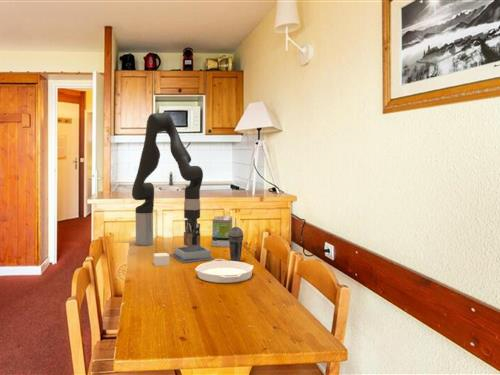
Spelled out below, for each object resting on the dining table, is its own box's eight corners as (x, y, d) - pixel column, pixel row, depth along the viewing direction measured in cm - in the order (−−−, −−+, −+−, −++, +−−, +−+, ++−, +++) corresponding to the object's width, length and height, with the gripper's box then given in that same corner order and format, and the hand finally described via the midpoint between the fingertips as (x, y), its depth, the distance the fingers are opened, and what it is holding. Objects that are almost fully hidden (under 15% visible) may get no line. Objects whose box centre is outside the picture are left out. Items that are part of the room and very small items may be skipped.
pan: (199, 287, 164) (199, 277, 164) (190, 269, 190) (190, 260, 190) (262, 283, 171) (263, 273, 170) (244, 266, 197) (245, 257, 196)
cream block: (153, 263, 198) (153, 253, 198) (166, 262, 201) (166, 252, 200) (155, 266, 193) (155, 256, 193) (169, 265, 195) (169, 255, 195)
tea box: (230, 247, 234) (230, 219, 233) (211, 246, 235) (211, 219, 233) (232, 241, 249) (232, 215, 248) (214, 241, 250) (214, 215, 248)
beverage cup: (244, 258, 209) (244, 216, 207) (242, 262, 202) (243, 219, 200) (229, 258, 210) (229, 216, 208) (226, 261, 202) (227, 218, 201)
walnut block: (183, 244, 211) (183, 232, 210) (195, 243, 214) (195, 231, 213) (188, 246, 206) (188, 234, 205) (200, 245, 209) (200, 233, 208)
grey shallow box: (170, 255, 214) (170, 247, 214) (200, 251, 222) (200, 244, 222) (182, 263, 199) (182, 254, 198) (215, 259, 206) (215, 251, 206)
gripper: (179, 206, 213) (179, 241, 214) (190, 210, 200) (190, 246, 202) (194, 206, 216) (193, 240, 218) (205, 209, 204) (205, 245, 205)
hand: (192, 243), depth 210 cm, fingers closed on walnut block, 6 cm apart
